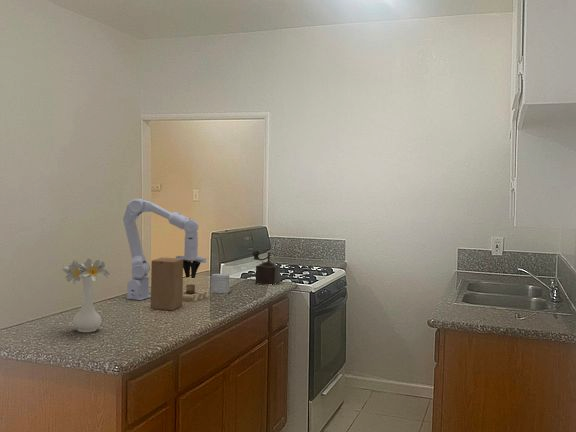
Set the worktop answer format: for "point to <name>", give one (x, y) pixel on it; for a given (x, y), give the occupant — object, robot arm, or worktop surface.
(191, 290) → the peg
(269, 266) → the coffee grinder
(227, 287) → the medicine box
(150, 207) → the robot arm
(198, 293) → the board
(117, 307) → the worktop surface
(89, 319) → the flower vase
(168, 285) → the wooden block
